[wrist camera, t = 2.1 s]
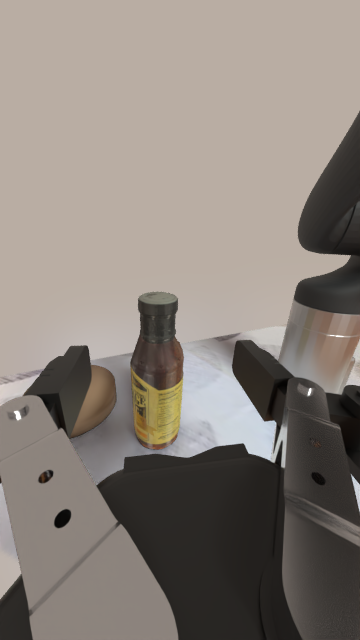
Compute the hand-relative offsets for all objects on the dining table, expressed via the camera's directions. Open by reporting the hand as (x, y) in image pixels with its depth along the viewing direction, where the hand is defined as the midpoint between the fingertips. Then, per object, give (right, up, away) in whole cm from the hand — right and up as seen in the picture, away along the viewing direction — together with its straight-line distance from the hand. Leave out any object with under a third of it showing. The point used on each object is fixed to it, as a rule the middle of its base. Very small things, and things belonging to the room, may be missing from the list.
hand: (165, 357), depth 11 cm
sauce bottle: (-2, -14, +18) cm, 23 cm away
